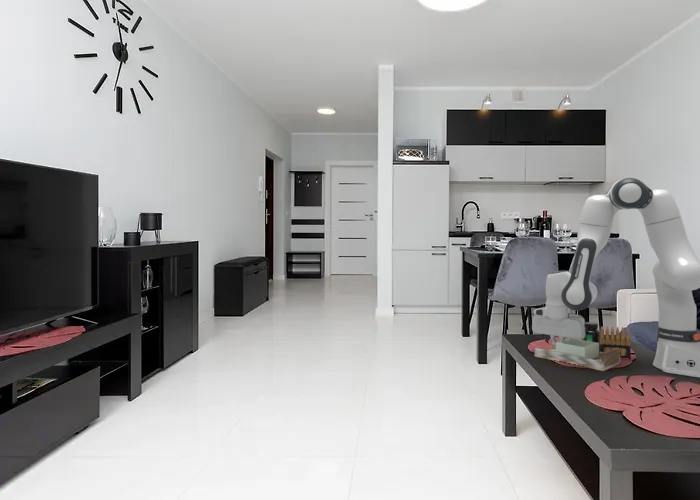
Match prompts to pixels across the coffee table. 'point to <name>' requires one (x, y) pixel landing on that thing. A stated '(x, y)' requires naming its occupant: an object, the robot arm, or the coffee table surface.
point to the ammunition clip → (616, 342)
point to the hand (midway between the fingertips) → (557, 347)
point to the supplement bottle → (592, 332)
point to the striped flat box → (599, 363)
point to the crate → (578, 348)
